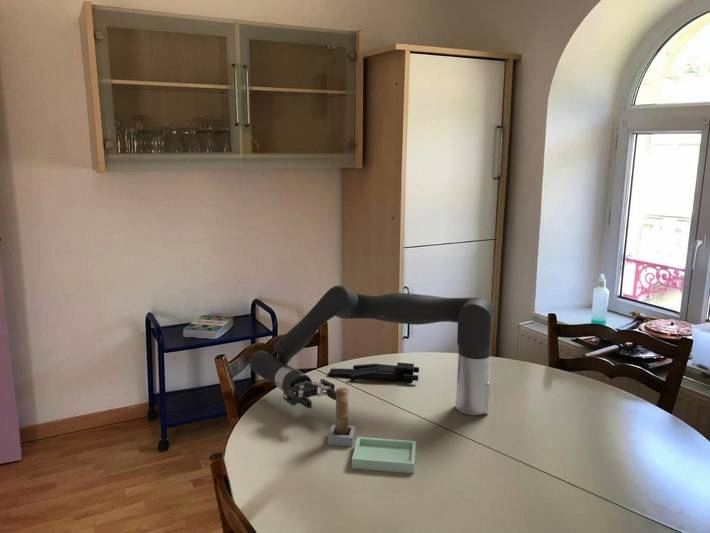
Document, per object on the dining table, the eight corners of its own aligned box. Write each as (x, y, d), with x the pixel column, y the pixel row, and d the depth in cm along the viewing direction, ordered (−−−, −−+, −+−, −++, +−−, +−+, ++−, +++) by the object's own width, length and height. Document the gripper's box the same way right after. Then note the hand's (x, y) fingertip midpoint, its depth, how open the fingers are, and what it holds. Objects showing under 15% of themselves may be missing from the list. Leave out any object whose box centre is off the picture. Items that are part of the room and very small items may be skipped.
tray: (415, 450, 152) (416, 441, 152) (414, 473, 142) (414, 463, 141) (357, 445, 154) (357, 436, 154) (351, 468, 143) (351, 458, 143)
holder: (355, 434, 160) (355, 426, 159) (352, 446, 154) (352, 437, 153) (332, 433, 161) (332, 424, 160) (327, 444, 154) (327, 435, 154)
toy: (328, 392, 197) (419, 387, 192) (326, 375, 196) (417, 370, 191) (333, 379, 206) (420, 375, 201) (331, 363, 205) (418, 358, 199)
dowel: (348, 437, 158) (349, 388, 156) (347, 443, 155) (347, 393, 152) (337, 436, 159) (337, 387, 156) (335, 442, 156) (335, 392, 153)
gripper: (271, 375, 170) (301, 394, 157) (312, 364, 178) (344, 381, 166) (271, 400, 171) (301, 420, 159) (313, 388, 180) (344, 406, 167)
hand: (323, 400), depth 162 cm, fingers open, 8 cm apart
